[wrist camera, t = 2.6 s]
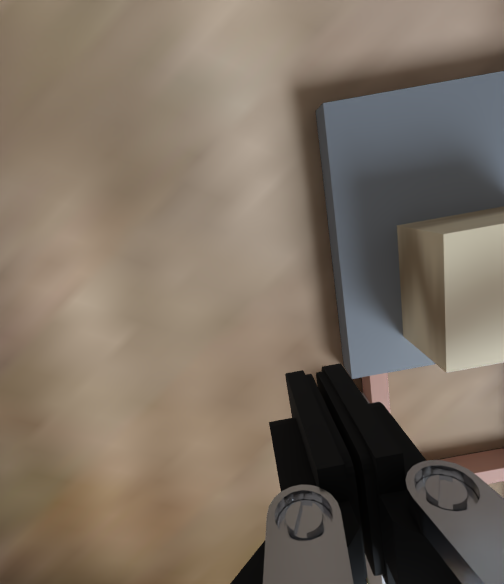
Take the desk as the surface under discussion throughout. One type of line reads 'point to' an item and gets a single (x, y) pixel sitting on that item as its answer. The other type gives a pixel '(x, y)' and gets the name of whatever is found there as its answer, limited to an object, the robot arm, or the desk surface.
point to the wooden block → (454, 288)
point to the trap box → (403, 211)
